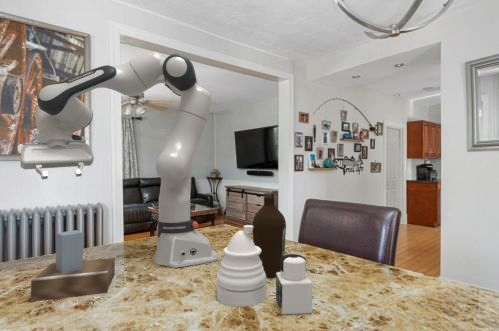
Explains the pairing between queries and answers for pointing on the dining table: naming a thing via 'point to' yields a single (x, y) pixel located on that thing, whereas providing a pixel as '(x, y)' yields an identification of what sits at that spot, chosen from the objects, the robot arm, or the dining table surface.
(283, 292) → the medicine bottle
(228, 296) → the honey pot
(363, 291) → the dining table surface
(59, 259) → the blue-grey rectangular block
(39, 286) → the dock
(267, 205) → the olive oil
